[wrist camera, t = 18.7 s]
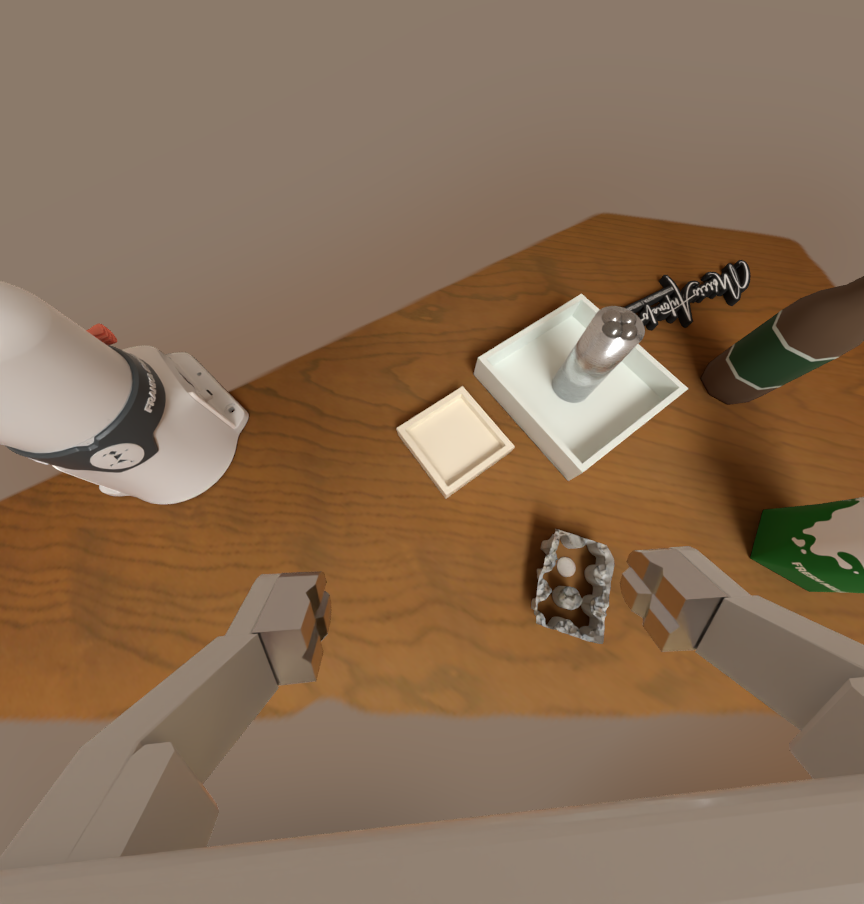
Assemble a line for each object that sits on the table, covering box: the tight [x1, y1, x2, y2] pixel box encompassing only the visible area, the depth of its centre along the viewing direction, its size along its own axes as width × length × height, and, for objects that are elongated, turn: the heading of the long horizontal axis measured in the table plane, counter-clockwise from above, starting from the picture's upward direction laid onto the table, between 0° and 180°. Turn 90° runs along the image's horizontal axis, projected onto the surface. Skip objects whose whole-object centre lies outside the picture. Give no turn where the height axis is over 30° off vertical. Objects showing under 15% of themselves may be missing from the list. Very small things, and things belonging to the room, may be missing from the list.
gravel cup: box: [552, 306, 645, 403], centre depth 39 cm, size 6×6×13 cm
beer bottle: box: [701, 276, 864, 404], centre depth 36 cm, size 8×8×24 cm
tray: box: [396, 386, 515, 499], centre depth 42 cm, size 11×11×2 cm
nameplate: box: [624, 260, 750, 330], centre depth 53 cm, size 27×2×10 cm
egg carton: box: [531, 529, 614, 644], centre depth 35 cm, size 11×8×4 cm
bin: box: [474, 294, 688, 481], centre depth 44 cm, size 20×20×4 cm
